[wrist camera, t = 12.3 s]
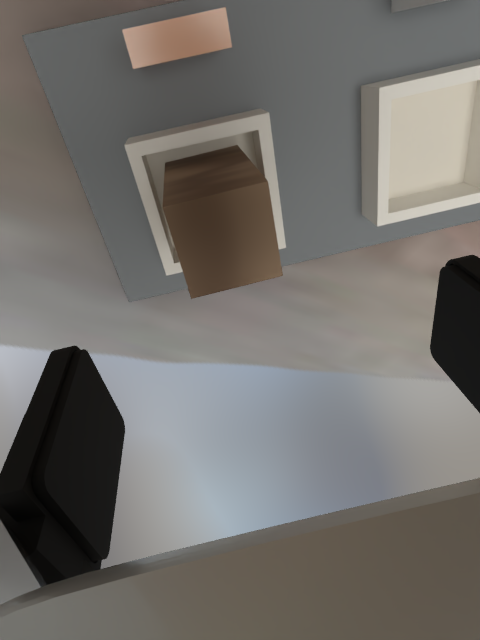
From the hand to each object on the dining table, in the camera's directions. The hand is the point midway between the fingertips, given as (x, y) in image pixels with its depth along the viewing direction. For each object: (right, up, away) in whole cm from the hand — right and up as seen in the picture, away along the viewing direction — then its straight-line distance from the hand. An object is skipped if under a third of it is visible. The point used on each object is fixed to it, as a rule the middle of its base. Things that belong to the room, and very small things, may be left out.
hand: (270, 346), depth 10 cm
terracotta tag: (-4, +15, +10) cm, 19 cm away
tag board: (+4, +12, +15) cm, 20 cm away
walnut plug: (-3, +9, +15) cm, 17 cm away
